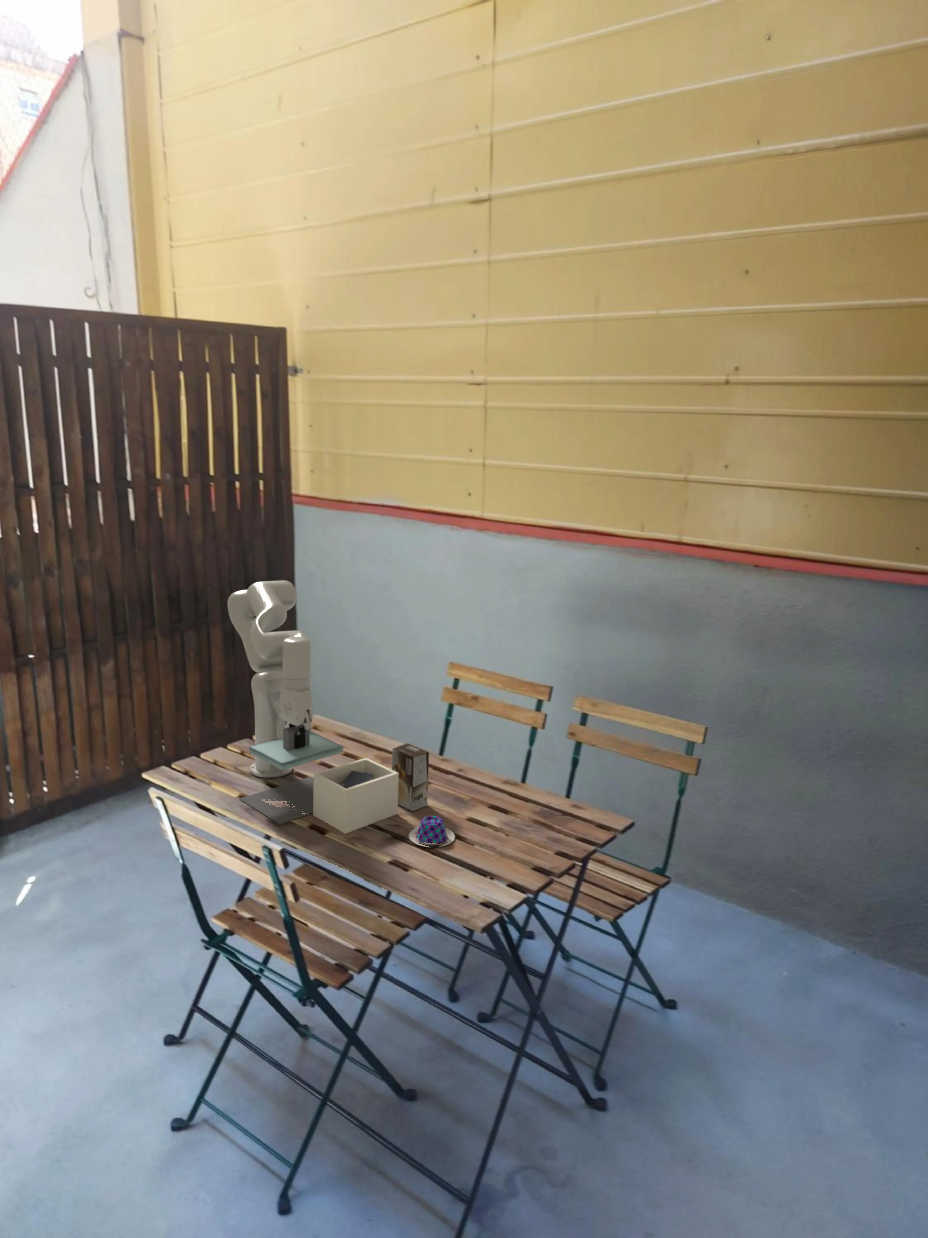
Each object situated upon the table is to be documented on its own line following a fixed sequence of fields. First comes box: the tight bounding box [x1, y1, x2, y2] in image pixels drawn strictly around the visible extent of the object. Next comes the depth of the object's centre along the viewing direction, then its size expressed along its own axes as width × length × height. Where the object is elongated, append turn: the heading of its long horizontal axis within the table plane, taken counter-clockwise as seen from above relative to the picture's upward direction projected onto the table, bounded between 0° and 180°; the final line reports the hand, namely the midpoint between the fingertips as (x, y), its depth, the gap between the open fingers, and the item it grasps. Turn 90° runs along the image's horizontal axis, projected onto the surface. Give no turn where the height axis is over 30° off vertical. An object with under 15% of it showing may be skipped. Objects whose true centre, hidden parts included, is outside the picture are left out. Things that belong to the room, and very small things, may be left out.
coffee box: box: [391, 743, 430, 812], centre depth 233 cm, size 9×6×16 cm
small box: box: [340, 771, 373, 789], centre depth 225 cm, size 11×6×10 cm, turn 168°
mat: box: [239, 776, 314, 826], centre depth 234 cm, size 20×24×1 cm
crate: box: [312, 757, 399, 835], centre depth 225 cm, size 14×18×12 cm
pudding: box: [408, 815, 456, 848], centre depth 215 cm, size 12×12×5 cm
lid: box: [248, 726, 344, 770], centre depth 230 cm, size 16×20×7 cm
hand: (296, 745), depth 230 cm, fingers closed on lid, 2 cm apart
